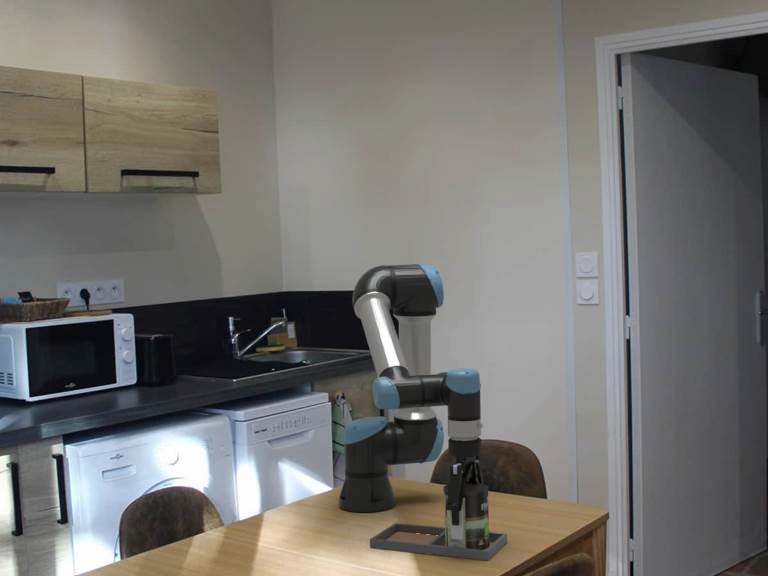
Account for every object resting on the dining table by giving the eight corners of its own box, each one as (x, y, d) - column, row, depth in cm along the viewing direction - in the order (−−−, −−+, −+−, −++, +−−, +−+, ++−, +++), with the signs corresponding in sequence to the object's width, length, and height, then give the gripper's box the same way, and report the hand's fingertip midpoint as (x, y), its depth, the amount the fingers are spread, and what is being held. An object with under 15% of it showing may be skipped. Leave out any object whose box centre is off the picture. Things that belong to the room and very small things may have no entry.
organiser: (395, 530, 240) (395, 522, 240) (507, 542, 228) (507, 533, 228) (370, 547, 226) (369, 539, 226) (487, 560, 215) (487, 551, 215)
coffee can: (491, 542, 229) (490, 482, 228) (487, 556, 218) (486, 493, 218) (447, 540, 231) (446, 481, 230) (441, 554, 220) (440, 492, 220)
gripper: (462, 448, 211) (464, 547, 212) (496, 428, 233) (498, 519, 234) (429, 446, 214) (432, 544, 215) (466, 427, 236) (468, 516, 237)
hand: (466, 531), depth 224 cm, fingers open, 12 cm apart
